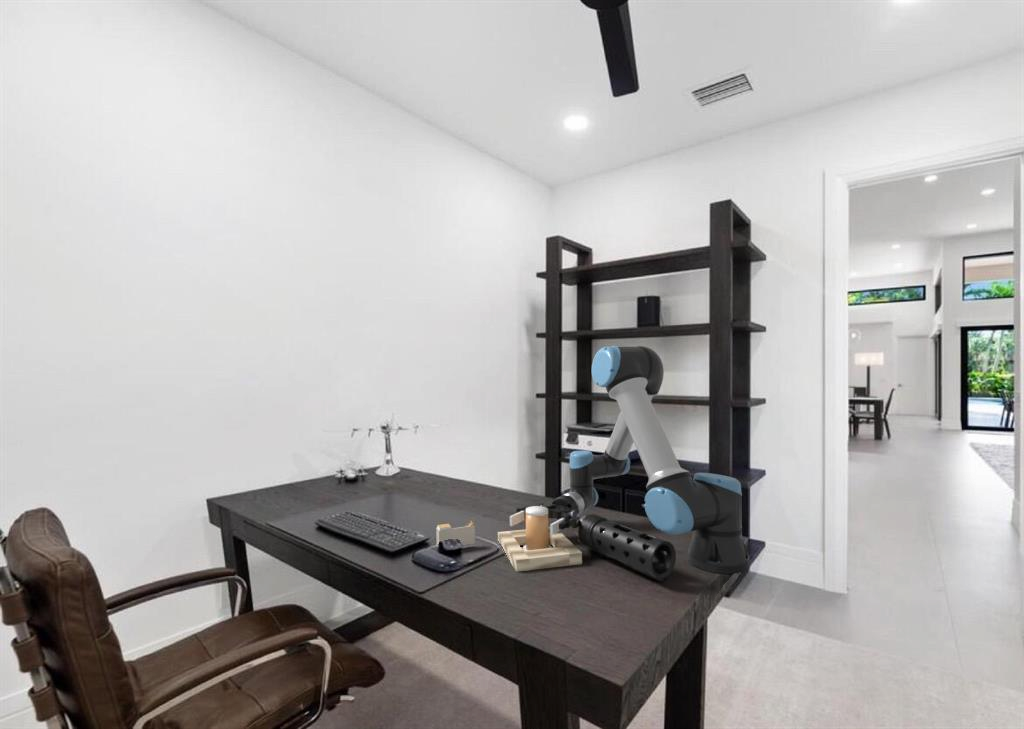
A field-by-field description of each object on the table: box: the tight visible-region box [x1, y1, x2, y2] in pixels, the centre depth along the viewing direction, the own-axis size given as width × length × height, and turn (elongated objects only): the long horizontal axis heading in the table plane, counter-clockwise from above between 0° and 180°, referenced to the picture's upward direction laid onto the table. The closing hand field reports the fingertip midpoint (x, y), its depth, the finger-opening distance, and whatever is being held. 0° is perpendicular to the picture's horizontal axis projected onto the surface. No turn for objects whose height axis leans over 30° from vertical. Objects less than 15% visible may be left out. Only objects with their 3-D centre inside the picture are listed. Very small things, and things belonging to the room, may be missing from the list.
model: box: [435, 519, 476, 546], centre depth 145 cm, size 3×11×8 cm, turn 112°
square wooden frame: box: [497, 526, 583, 573], centre depth 140 cm, size 22×18×3 cm
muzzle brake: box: [575, 513, 677, 582], centre depth 131 cm, size 10×28×10 cm, turn 33°
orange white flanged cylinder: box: [522, 505, 553, 551], centre depth 140 cm, size 8×8×12 cm
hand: (530, 525), depth 138 cm, fingers open, 13 cm apart
